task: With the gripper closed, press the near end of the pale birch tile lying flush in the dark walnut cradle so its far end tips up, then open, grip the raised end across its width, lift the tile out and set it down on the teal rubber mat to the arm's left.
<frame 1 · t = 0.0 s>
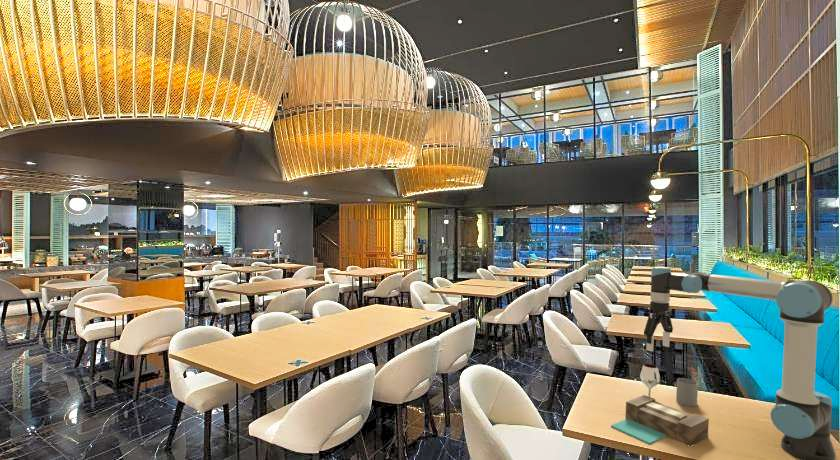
hand: (657, 348, 193), 28 cm above the table, fingers open, 13 cm apart
cradle: (665, 427, 177), on the table
mat: (638, 431, 173), on the table
cup: (686, 402, 203), on the table
tile: (665, 415, 177), point 5 cm above the table, touching cradle
wineglass: (648, 404, 199), on the table
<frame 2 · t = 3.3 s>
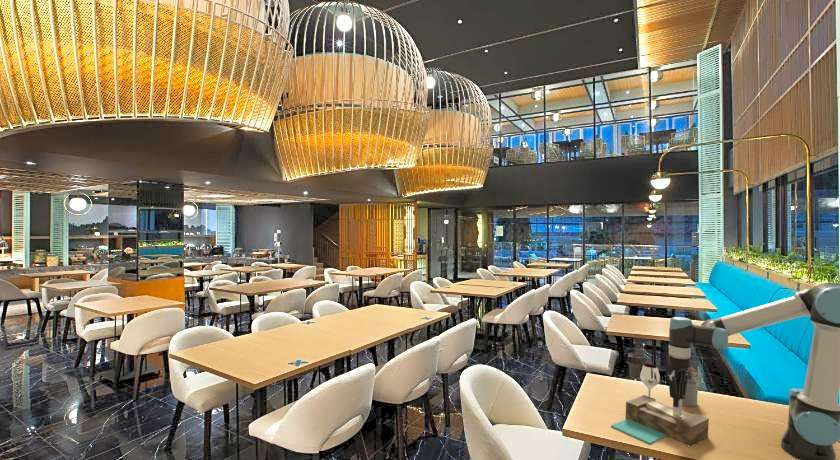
hand: (677, 414, 173), 7 cm above the table, fingers closed
tile: (665, 415, 177), point 5 cm above the table, tilted 7°, touching cradle, gripper
everything else where it was.
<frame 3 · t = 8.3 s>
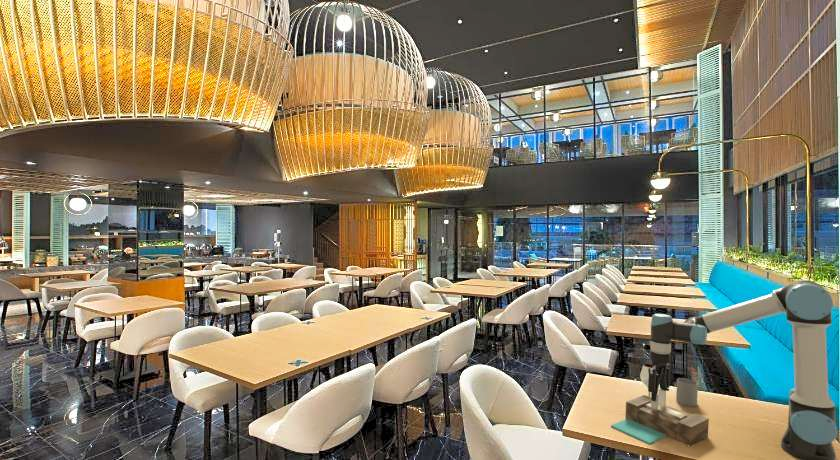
hand: (658, 406, 179), 8 cm above the table, fingers closed on tile, 5 cm apart
tile: (665, 415, 177), point 5 cm above the table, touching cradle, gripper
everything else where it was.
when the fingers open (11 cm above the table, at t = 13.7 s): tile drops 8 cm, resting on mat.
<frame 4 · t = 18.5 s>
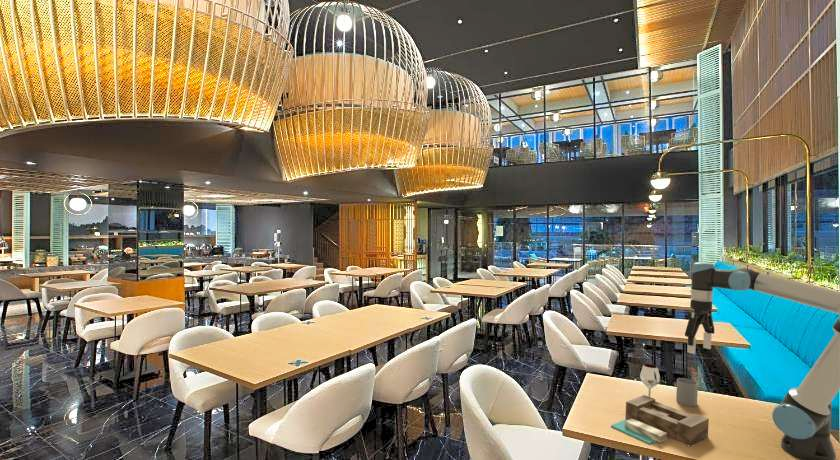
hand: (699, 350, 178), 32 cm above the table, fingers open, 13 cm apart
tile: (645, 433, 171), point 1 cm above the table, touching mat
everything else where it was.
at the end: tile inside the target area on the mat (2.9 cm from its centre), point 0.6 cm above the mat's base; the gripper is holding nothing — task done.
